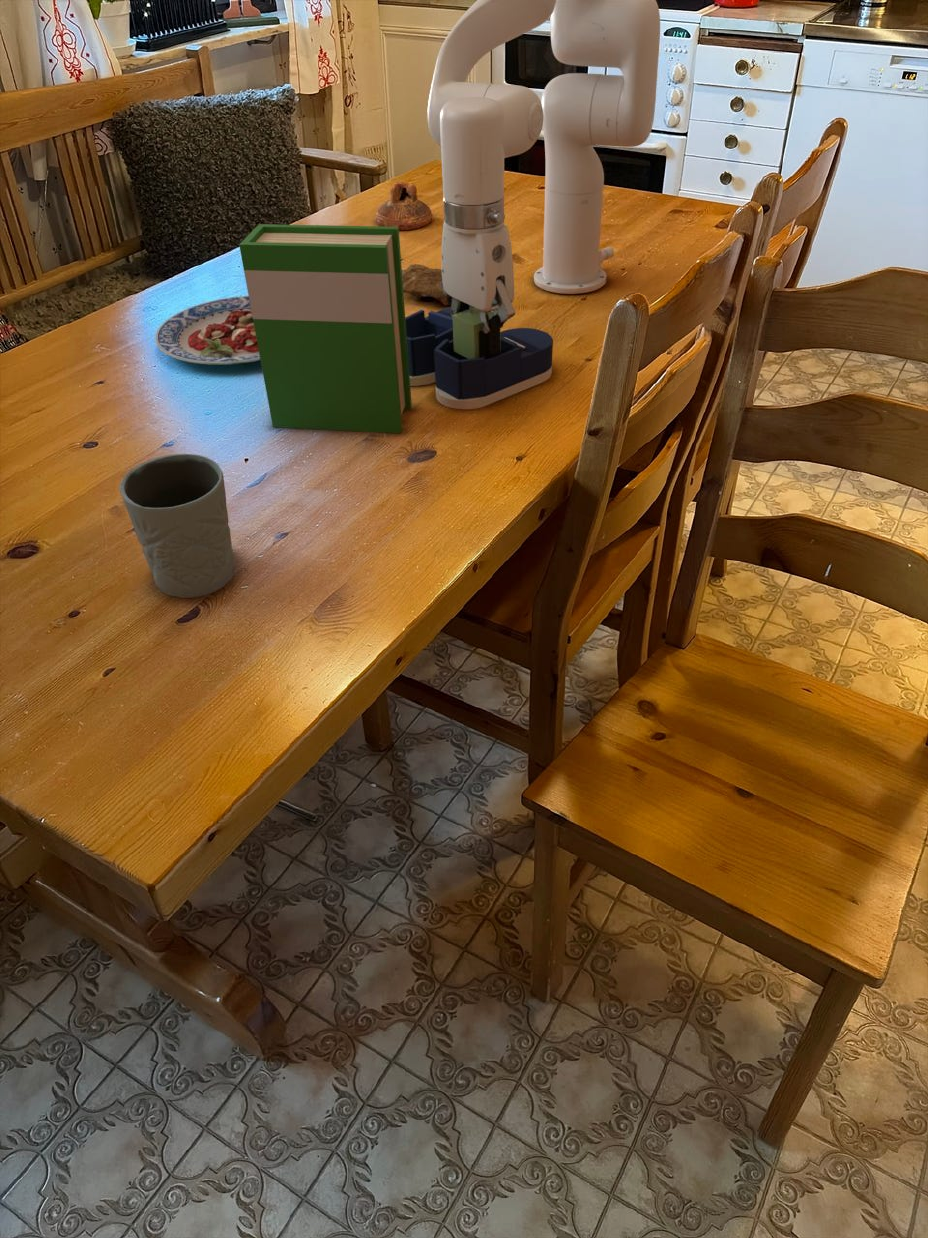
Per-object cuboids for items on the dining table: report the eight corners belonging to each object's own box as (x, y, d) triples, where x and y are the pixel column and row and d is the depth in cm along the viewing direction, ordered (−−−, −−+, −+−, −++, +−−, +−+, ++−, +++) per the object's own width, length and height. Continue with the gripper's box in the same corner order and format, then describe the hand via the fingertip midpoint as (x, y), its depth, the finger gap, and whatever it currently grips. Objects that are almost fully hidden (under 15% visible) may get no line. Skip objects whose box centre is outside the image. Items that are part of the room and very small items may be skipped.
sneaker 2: (524, 354, 138) (525, 310, 133) (564, 373, 133) (566, 327, 128) (423, 393, 129) (420, 347, 125) (461, 415, 124) (460, 368, 119)
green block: (479, 341, 128) (478, 305, 125) (500, 352, 125) (500, 315, 122) (453, 351, 126) (452, 314, 123) (474, 362, 123) (473, 325, 120)
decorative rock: (378, 303, 156) (460, 316, 152) (376, 279, 153) (459, 292, 149) (405, 276, 163) (483, 288, 159) (403, 253, 160) (483, 265, 156)
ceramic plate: (242, 297, 159) (239, 279, 157) (355, 328, 147) (353, 310, 145) (123, 351, 143) (118, 333, 141) (239, 391, 131) (235, 372, 129)
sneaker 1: (459, 332, 145) (457, 289, 140) (501, 346, 140) (501, 301, 136) (374, 375, 134) (370, 329, 130) (418, 391, 130) (414, 345, 125)
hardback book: (411, 406, 126) (398, 226, 111) (401, 433, 121) (385, 247, 105) (288, 401, 129) (259, 223, 113) (272, 427, 123) (239, 244, 107)
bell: (438, 213, 191) (437, 176, 186) (423, 232, 182) (421, 193, 177) (385, 211, 193) (382, 174, 188) (368, 229, 184) (364, 191, 179)
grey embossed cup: (180, 540, 104) (153, 447, 96) (261, 554, 101) (240, 459, 93) (131, 595, 96) (98, 499, 88) (216, 611, 94) (190, 513, 86)
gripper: (542, 221, 110) (538, 362, 122) (455, 190, 121) (460, 324, 132) (494, 235, 107) (496, 380, 119) (409, 203, 117) (418, 339, 129)
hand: (477, 349), depth 126 cm, fingers closed on green block, 4 cm apart
